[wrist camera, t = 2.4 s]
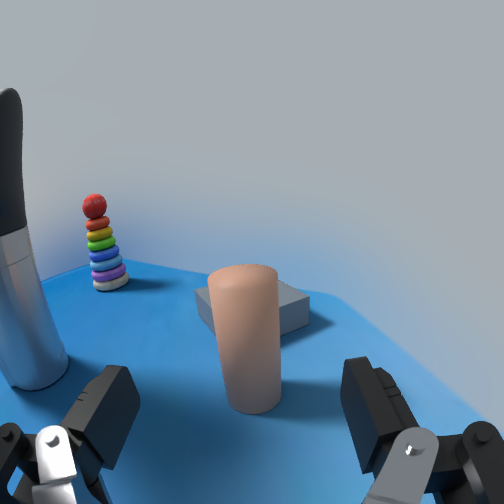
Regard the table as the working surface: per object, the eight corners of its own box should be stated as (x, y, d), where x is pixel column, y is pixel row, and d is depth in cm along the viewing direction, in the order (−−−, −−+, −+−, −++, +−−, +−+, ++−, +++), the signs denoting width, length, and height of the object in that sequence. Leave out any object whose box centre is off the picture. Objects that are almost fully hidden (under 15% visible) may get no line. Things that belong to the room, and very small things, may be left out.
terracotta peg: (243, 422, 20) (224, 297, 17) (218, 389, 25) (198, 273, 21) (292, 399, 23) (291, 277, 19) (263, 371, 27) (255, 259, 23)
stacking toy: (121, 274, 58) (107, 190, 53) (135, 283, 53) (119, 189, 47) (90, 285, 53) (72, 198, 47) (100, 296, 47) (80, 196, 42)
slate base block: (231, 354, 30) (227, 324, 29) (198, 315, 39) (194, 289, 38) (309, 323, 35) (309, 296, 34) (264, 295, 44) (263, 271, 43)
